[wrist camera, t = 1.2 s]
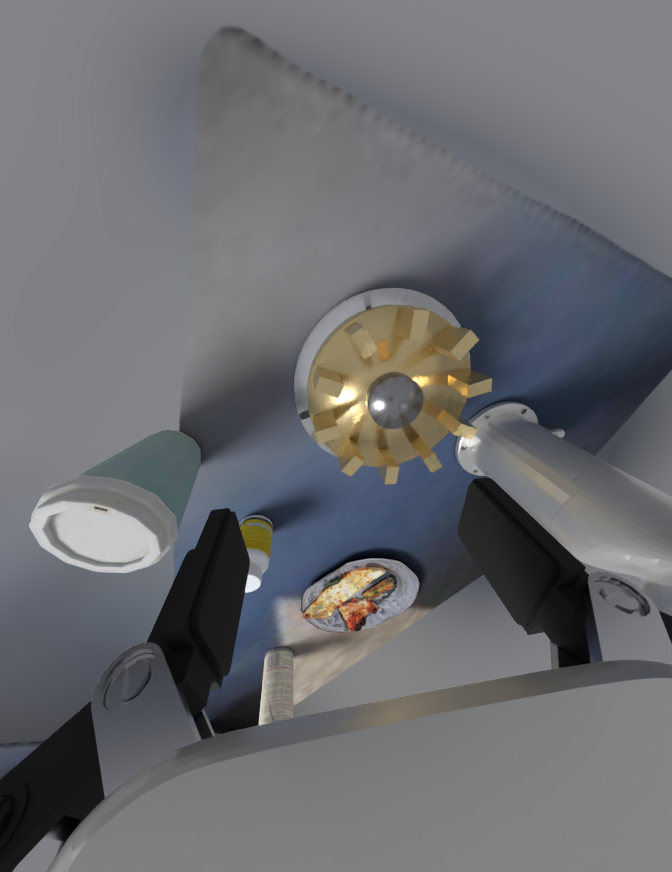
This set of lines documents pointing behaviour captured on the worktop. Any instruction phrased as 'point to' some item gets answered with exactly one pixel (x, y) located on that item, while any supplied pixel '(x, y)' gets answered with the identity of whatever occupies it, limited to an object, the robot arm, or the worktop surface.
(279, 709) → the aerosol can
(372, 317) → the bladed impeller wheel
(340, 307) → the light grey round disc
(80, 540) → the disposable coffee cup
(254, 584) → the supplement bottle
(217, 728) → the worktop surface
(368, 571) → the food plate
